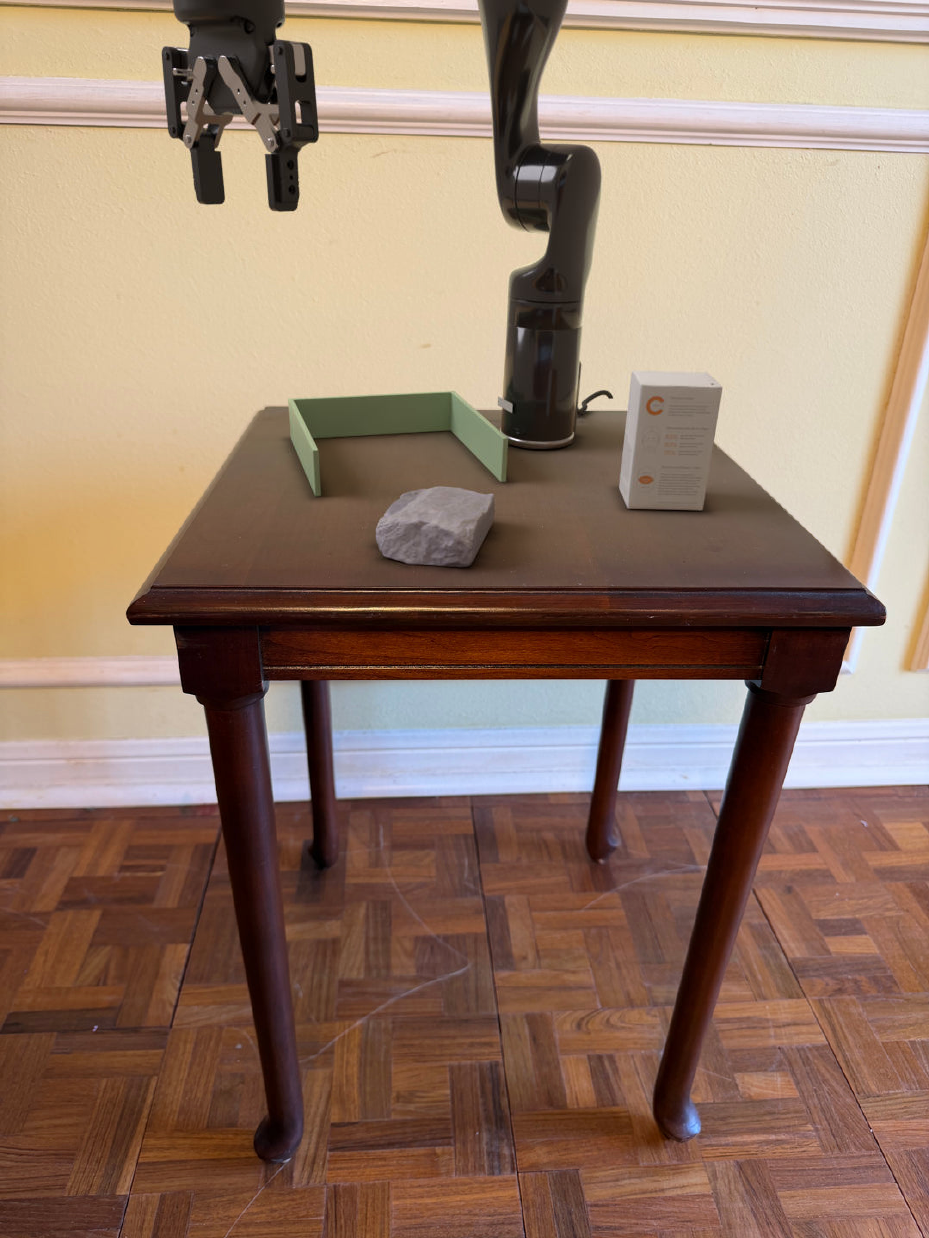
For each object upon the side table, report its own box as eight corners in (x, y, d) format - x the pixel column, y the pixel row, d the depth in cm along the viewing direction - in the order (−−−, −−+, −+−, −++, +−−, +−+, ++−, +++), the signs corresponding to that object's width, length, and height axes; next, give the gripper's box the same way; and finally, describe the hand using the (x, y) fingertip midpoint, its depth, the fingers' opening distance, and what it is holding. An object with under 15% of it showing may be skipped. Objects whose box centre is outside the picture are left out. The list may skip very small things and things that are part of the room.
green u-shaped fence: (506, 482, 98) (508, 438, 95) (315, 496, 92) (312, 450, 90) (453, 428, 115) (454, 390, 113) (290, 438, 110) (287, 398, 107)
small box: (690, 490, 97) (709, 371, 91) (703, 512, 91) (724, 386, 85) (617, 488, 97) (630, 369, 91) (625, 509, 91) (641, 384, 85)
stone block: (372, 577, 79) (479, 569, 77) (361, 527, 77) (471, 517, 75) (407, 532, 90) (502, 524, 87) (398, 487, 88) (495, 477, 85)
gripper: (339, -59, 58) (347, 212, 65) (205, -40, 65) (227, 200, 73) (248, -81, 52) (269, 216, 60) (114, -58, 60) (148, 203, 68)
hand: (246, 207), depth 67 cm, fingers open, 8 cm apart
